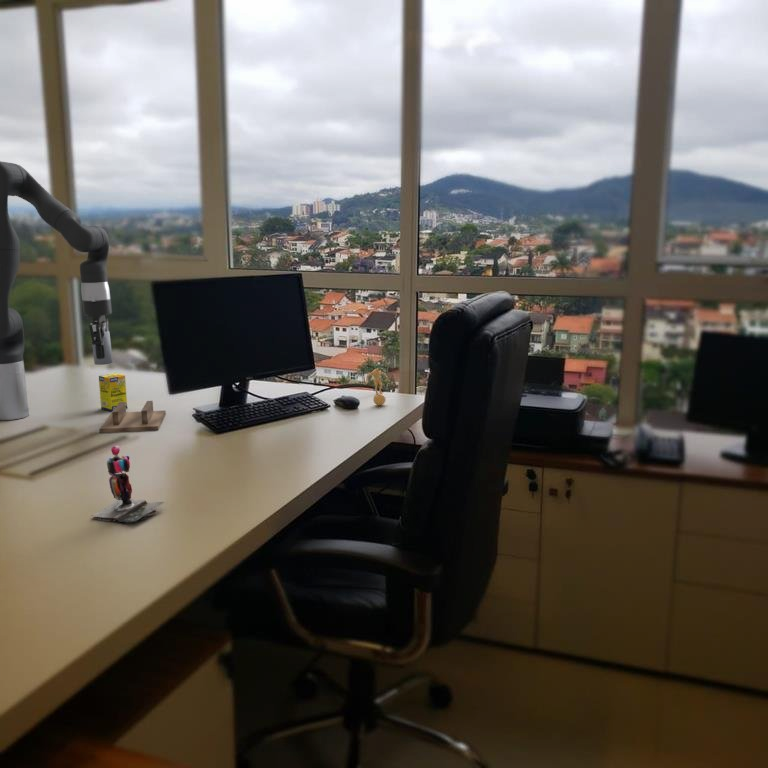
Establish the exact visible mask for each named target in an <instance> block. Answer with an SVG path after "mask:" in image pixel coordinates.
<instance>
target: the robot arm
mask: <svg viewBox="0 0 768 768" xmlns="http://www.w3.org/2000/svg"><path fill="white" fill-rule="evenodd" d="M9 197H18V198H20V199H22V200H24V201H26V202H28V203H29V204H30V205H32V206H33V207H34V208H35V210H36V212H37V214H38V216H40V218H41V219H42V220H43V221H44V222H45V223H46V224H48V225H49V226H50V227H51V228H53V229H54V230H56V231H57V232H58V233H59V234H60V235H61V236H62V237H63V238H64V240H65V241H66V242H67V243H68V244H69V246H71V248H73V249H74V250H75V251H78V252H80V253H88V254H87V258H86V260H85V261H83V262H81V263H80V265H79V272H80V274H79V275H80V282H81V288H80V289H81V299H82V308H83V309H82V310H83V315H84V316H86V317H91V321H90V324H89V333H90V337H91V338H90V339H91V345H92V344H93V345H94V346H95V349H96V357H97V359H104V358H105V352H104V338H105V331H109V332H110V329H109V328H110V327H109V319H108V318H106V316H109V315H111V314H113V309H112V308H113V307H112V300H111V299H112V298H111V293H110V292H111V291H110V286H109V281H108V271H107V265H108V264H107V263H108V259H109V252H110V251H109V250H110V239H109V236H108V233H107V231H106V230H105V229H104V228H103V227H101V226H94V225H93V226H84V225H82V220H81V218H80V216H79V215H78V214H77V213H75V212H74V211H73V210H72V209H70V208H69V207H68V206H66V205H64V204H63V202H61V201H60V200H58V199H56V198H55V197H54V196H53V195H51V193H49V192H48V191H47V190H46V189H45V188H44V187H43V186H42V184H40V183H39V182H38V181H37V180H36V179H35V178H34V177H33V176H32V175H31V173H30V172H28V170H27V169H25V168H24V167H23V166H22V165H20V164H17V163H13V162H7V161H1V160H0V420H1V421H13V420H18V419H24V418H27V417H28V416H30V410H29V409H30V408H29V401H28V400H29V399H28V390H27V389H28V388H27V382H26V374H25V373H26V371H25V363H24V353H25V332H24V331H25V330H24V323H23V319H22V317H21V315H20V313H19V312H18V311H17V310H16V309H14V308H12V307H10V294H11V291H12V288H13V285H14V283H15V280H16V277H17V274H18V272H19V269H20V262H21V261H20V257H21V243H20V238H19V236H18V234H17V232H16V230H15V228H14V225H13V224H12V221H11V219H10V216H9V209H8V207H9V206H8V205H9V203H8V202H9V201H8V200H9ZM101 333H102V334H101ZM96 338H99V340H96Z"/></svg>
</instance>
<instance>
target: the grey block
mask: <svg viewBox="0 0 768 768" xmlns="http://www.w3.org/2000/svg"><path fill="white" fill-rule="evenodd" d="M110 333H111V332H110V330H109V331H105V338H104V352H105V358H104V359H97V357H96V349H95V346H94V345H93V344H92V343H91V345H92V353H93V363H94V364H93V365H96V366H103V365H111V364H113V362H114V361H113V351H112V343H111V335H110ZM101 334H102V333H101ZM96 340H99V338H96Z"/></svg>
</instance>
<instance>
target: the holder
mask: <svg viewBox="0 0 768 768" xmlns="http://www.w3.org/2000/svg"><path fill="white" fill-rule="evenodd" d="M166 412H167V411H166V410H154V401H153V400H147V401H146V402H145V404H144V405H143V407H142V409H141V411H127V408H126V405H125V402H119V404H118V405H117V406H116V408H115V409H114V410H113V411H112V412H111V413H110V414H109V415H108V417H107V418H106V420H104V422H103V423H102V425H101V426H100V427H99V433H100V434H102V433H104V434H105V433H123V432H124V433H125V432H144V431H145V432H147V431H149V432H150V431H159V430H160V428H161V425H162V423H163V421H164V419H165V416H166V415H167V413H166Z"/></svg>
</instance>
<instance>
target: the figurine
mask: <svg viewBox="0 0 768 768" xmlns="http://www.w3.org/2000/svg"><path fill="white" fill-rule="evenodd" d="M372 375H373V377H374V379H373V384H374V390H375V394H374V396H373V398H372V399H373V403H374V404H375V405H376V406H383V405H384V404H385V403H386V396H385V395H384V393H383V392H382V388H383V382H382V378H380V377H381V375H384V376H385V378H386V379H387V381H388V382H389V383H390V382H391V381H390V379H389V377H388V376H387V374H386V373H385V372H383V371H382V370H380V369H379V367H377V368H375V369H373V371H371V372H370V373H368V374H367V375H366V379H365V384H366V385H367V384H368V380H369V377H370V376H372ZM378 385H379V388H378ZM378 389H379V390H378ZM378 391H379V393H378Z"/></svg>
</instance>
